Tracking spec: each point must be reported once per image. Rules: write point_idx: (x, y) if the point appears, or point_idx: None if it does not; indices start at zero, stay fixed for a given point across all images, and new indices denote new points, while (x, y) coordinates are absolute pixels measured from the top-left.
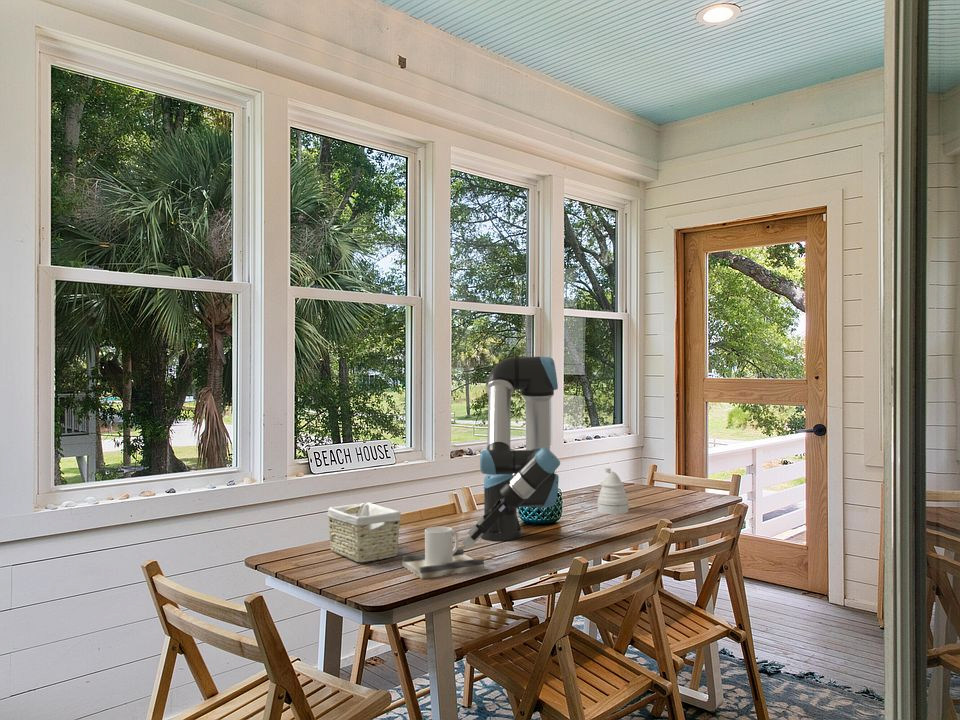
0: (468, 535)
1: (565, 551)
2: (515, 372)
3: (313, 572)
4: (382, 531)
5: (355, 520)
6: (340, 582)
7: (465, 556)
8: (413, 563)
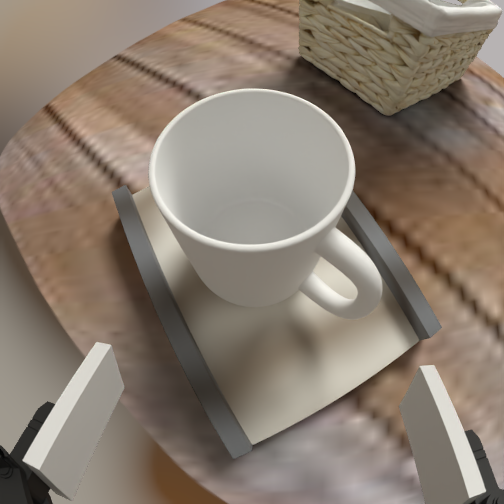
0: (81, 392)
1: None
2: None
3: (227, 19)
4: (364, 24)
5: None
6: (144, 61)
7: (377, 357)
8: None
